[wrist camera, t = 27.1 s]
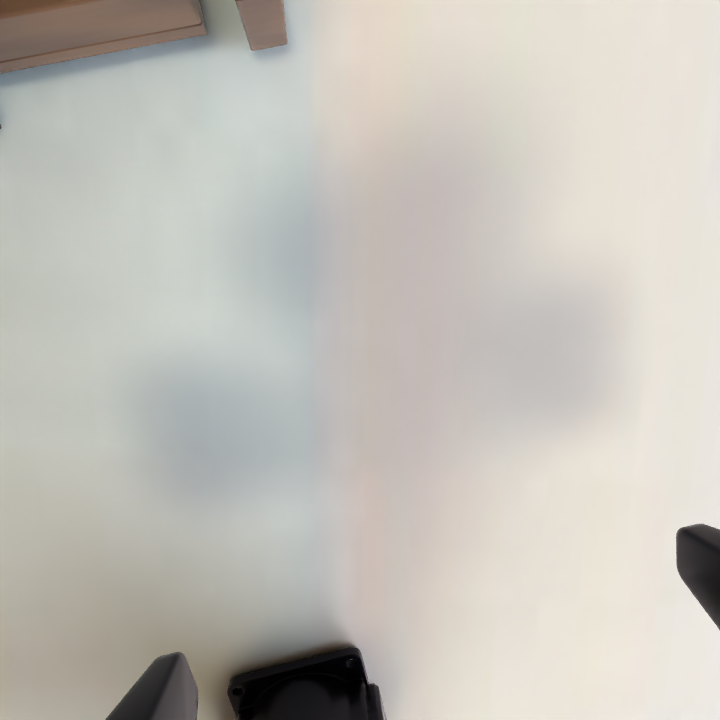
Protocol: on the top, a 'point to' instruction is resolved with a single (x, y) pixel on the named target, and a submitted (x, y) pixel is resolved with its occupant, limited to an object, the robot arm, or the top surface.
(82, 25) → the drawer
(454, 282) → the top surface
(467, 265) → the top surface
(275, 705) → the robot arm
